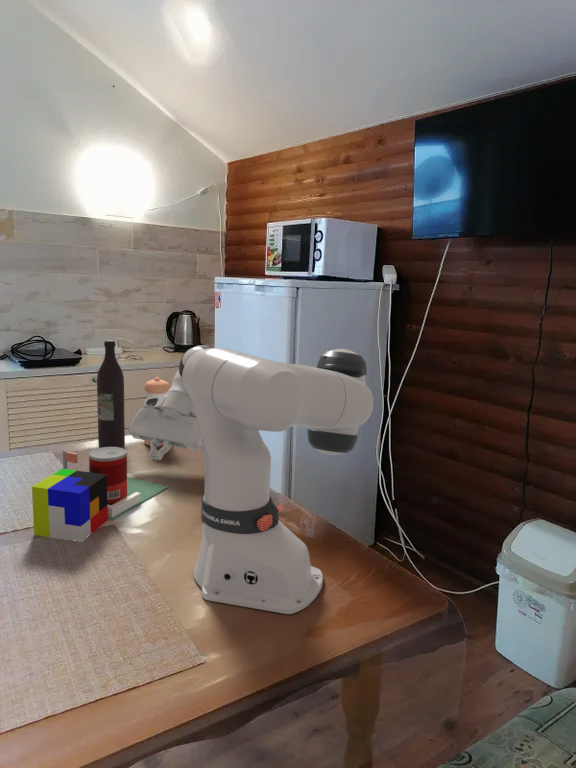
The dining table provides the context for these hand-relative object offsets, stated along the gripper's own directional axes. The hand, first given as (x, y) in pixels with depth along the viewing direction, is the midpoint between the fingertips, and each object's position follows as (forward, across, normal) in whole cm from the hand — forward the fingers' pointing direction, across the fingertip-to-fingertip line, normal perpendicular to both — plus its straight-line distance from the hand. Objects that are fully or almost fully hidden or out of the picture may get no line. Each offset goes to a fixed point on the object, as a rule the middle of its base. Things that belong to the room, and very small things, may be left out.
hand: (154, 458), depth 145 cm
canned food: (+15, 0, +8) cm, 17 cm away
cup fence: (+16, 0, +9) cm, 19 cm away
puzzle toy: (+25, -2, +18) cm, 31 cm away
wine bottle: (-5, +23, -12) cm, 26 cm away
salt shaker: (-12, +15, -19) cm, 27 cm away
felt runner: (+13, 0, +7) cm, 15 cm away
